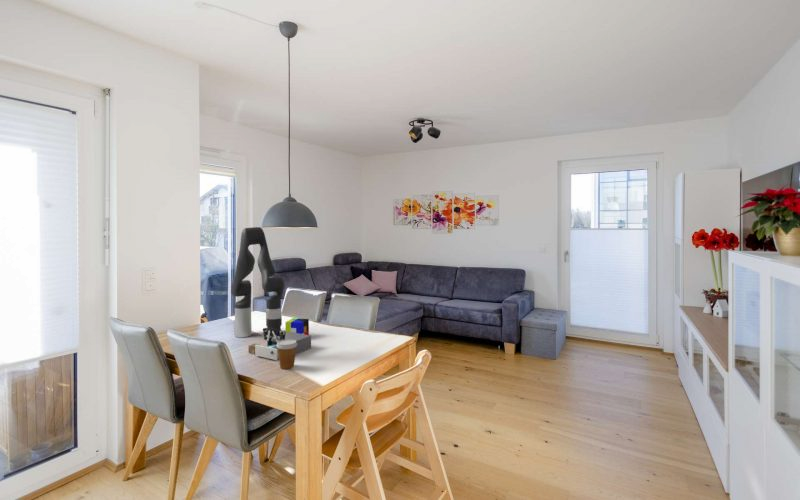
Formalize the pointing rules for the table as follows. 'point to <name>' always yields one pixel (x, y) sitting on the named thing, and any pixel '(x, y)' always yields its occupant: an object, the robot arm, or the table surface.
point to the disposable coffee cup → (286, 353)
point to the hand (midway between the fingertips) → (274, 349)
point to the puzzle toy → (298, 326)
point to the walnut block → (252, 348)
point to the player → (297, 341)
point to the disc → (273, 346)
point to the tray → (266, 352)
